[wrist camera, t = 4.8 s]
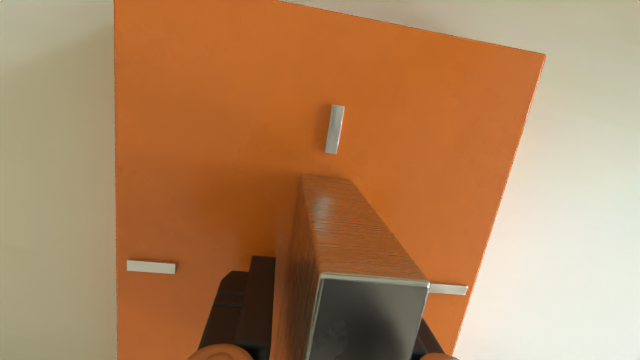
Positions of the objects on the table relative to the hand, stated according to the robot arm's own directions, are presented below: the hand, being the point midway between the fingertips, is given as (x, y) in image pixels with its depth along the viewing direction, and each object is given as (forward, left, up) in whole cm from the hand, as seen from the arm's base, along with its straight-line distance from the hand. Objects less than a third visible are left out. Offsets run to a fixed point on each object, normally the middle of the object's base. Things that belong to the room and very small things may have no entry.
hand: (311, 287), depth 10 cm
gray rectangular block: (0, 0, -1) cm, 1 cm away
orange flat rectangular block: (0, 0, -4) cm, 4 cm away
